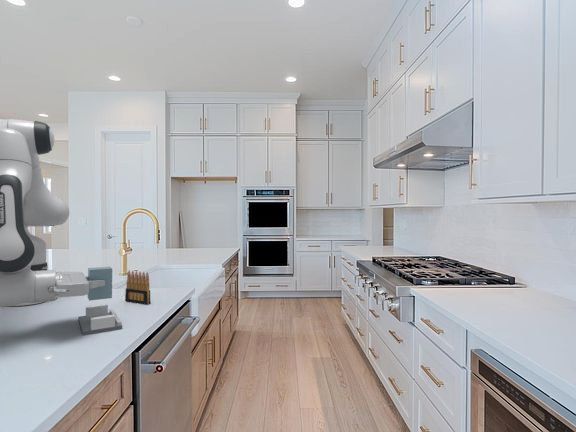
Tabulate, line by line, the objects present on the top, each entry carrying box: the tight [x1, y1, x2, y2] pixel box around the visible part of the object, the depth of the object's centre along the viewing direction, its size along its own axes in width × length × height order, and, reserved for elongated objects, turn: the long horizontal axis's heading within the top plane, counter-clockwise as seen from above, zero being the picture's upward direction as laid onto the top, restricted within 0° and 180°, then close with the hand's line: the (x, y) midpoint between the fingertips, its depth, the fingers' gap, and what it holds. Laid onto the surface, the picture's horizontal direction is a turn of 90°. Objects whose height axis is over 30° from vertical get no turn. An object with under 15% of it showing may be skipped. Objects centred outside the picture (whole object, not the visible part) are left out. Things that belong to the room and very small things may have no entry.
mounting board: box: [77, 303, 123, 336], centre depth 105 cm, size 16×10×4 cm, turn 35°
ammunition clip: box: [124, 270, 151, 306], centre depth 130 cm, size 11×2×12 cm, turn 69°
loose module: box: [87, 266, 113, 302], centre depth 104 cm, size 4×6×9 cm
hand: (103, 281), depth 105 cm, fingers closed on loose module, 4 cm apart
